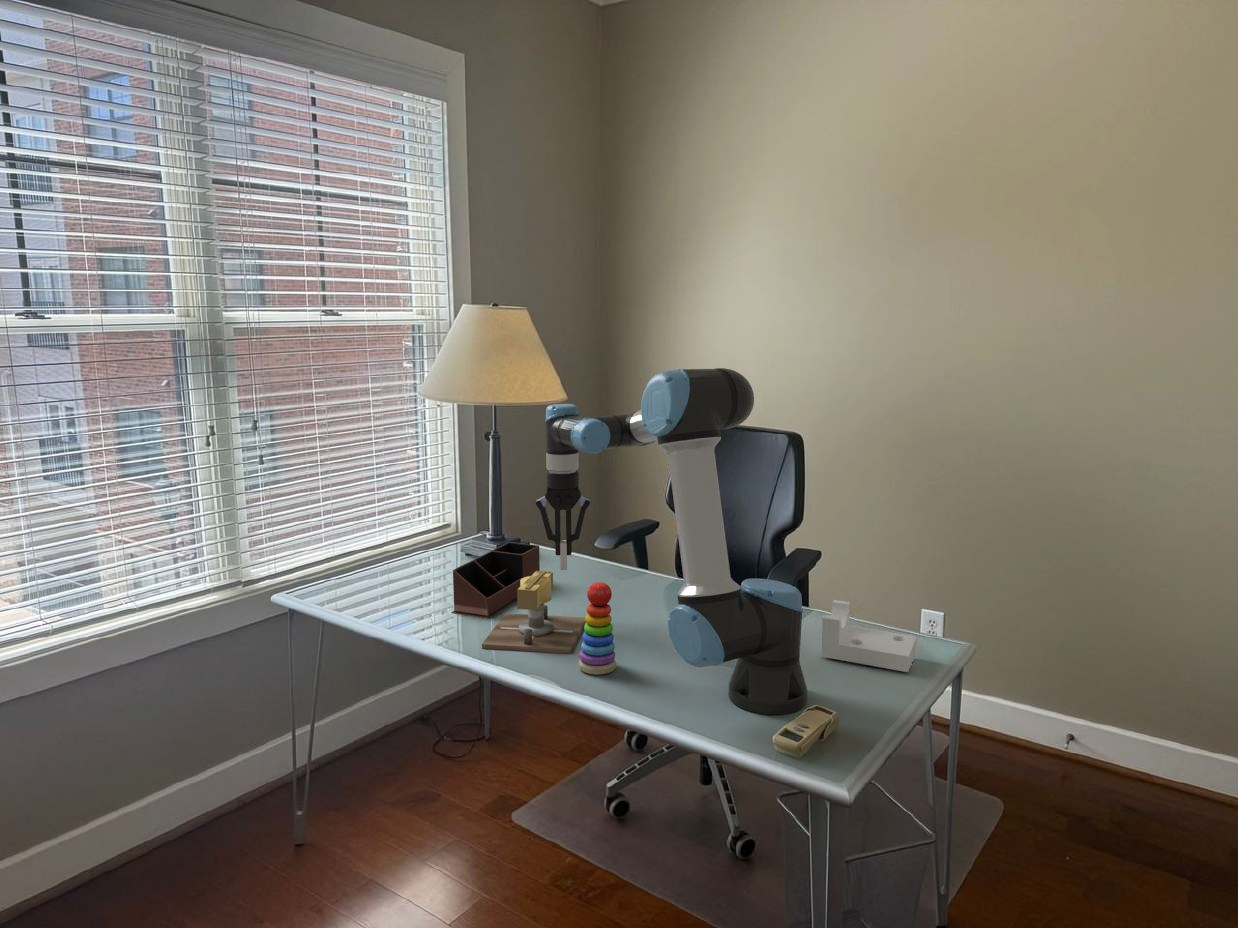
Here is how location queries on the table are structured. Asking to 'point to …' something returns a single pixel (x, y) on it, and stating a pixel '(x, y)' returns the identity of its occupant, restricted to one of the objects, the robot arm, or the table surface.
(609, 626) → the stacking toy
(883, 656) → the white mounting bracket
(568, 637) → the base
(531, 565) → the desk organizer
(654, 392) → the robot arm
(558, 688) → the table surface
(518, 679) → the table surface
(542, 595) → the yellow block with ball
